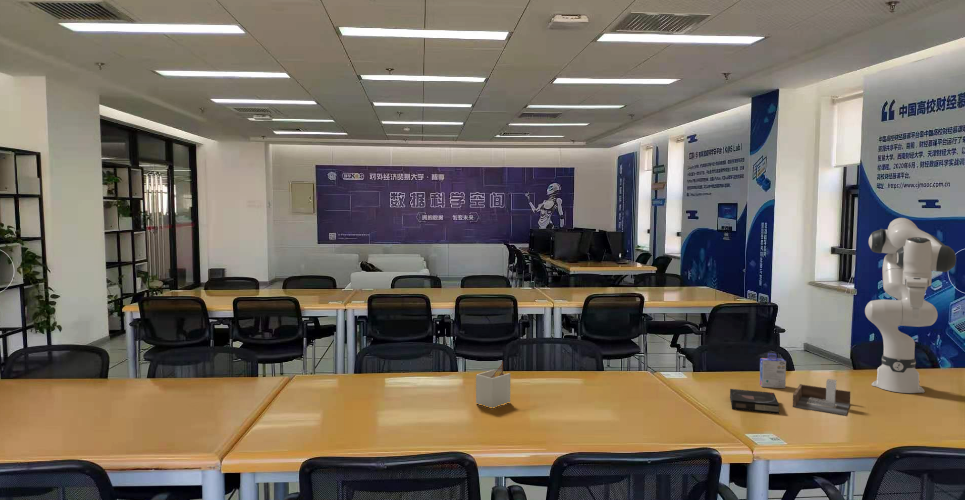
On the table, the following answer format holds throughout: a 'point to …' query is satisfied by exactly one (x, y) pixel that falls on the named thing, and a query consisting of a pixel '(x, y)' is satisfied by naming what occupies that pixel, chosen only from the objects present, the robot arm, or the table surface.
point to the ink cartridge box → (772, 372)
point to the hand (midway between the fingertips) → (915, 316)
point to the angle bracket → (830, 395)
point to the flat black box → (754, 401)
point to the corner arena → (808, 391)
